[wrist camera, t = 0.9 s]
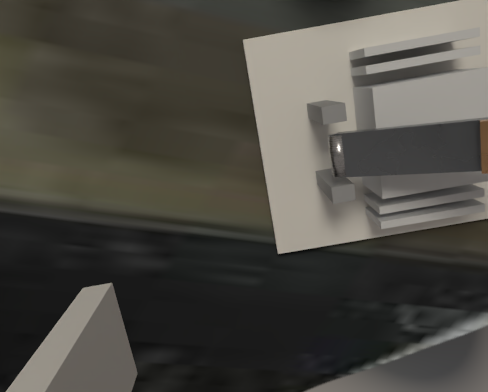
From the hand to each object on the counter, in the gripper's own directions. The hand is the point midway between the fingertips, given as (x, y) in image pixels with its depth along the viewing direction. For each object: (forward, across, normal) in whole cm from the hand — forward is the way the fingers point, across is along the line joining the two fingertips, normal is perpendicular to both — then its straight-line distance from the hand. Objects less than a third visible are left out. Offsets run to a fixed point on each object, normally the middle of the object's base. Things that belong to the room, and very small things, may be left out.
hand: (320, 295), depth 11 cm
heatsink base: (+26, +12, 0) cm, 28 cm away
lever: (+16, +11, 0) cm, 19 cm away
